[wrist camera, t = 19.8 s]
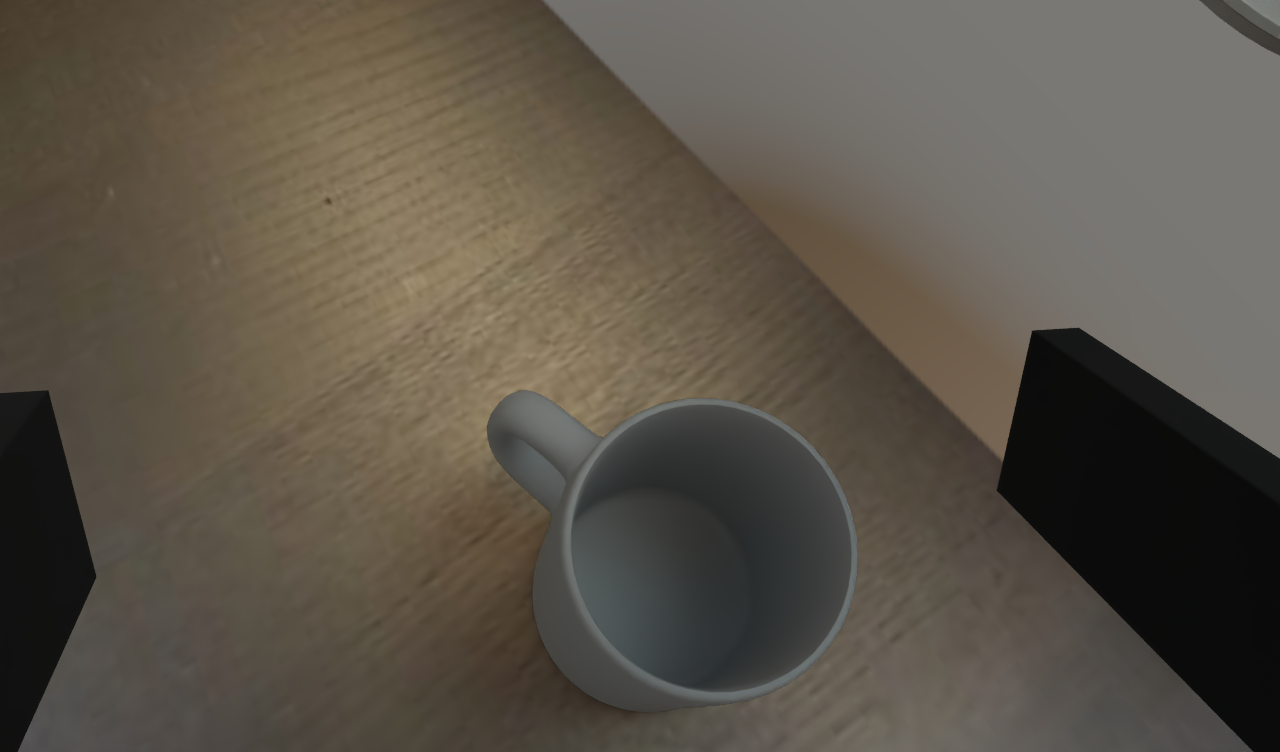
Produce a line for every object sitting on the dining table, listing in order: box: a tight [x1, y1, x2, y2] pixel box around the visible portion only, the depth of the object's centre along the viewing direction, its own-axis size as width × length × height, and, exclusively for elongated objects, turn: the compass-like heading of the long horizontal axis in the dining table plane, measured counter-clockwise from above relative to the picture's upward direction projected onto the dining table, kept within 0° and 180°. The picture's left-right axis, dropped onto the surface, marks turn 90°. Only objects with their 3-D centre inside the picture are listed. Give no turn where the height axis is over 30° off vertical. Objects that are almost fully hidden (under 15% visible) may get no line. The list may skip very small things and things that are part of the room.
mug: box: [487, 390, 858, 712], centre depth 32 cm, size 12×8×11 cm
